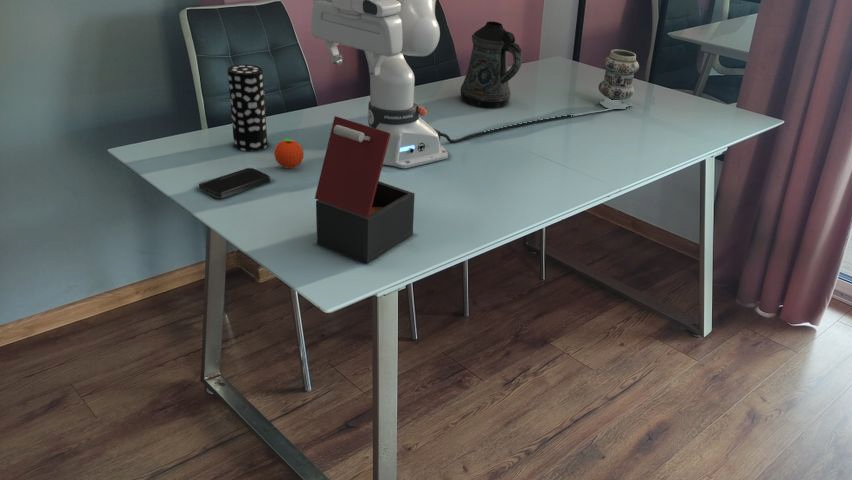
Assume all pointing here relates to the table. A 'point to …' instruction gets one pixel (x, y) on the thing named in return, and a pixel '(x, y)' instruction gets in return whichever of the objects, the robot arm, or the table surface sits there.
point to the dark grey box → (367, 225)
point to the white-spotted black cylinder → (247, 107)
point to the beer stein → (490, 67)
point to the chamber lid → (352, 166)
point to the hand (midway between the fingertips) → (355, 69)
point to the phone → (234, 183)
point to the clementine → (288, 153)
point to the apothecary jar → (619, 75)
